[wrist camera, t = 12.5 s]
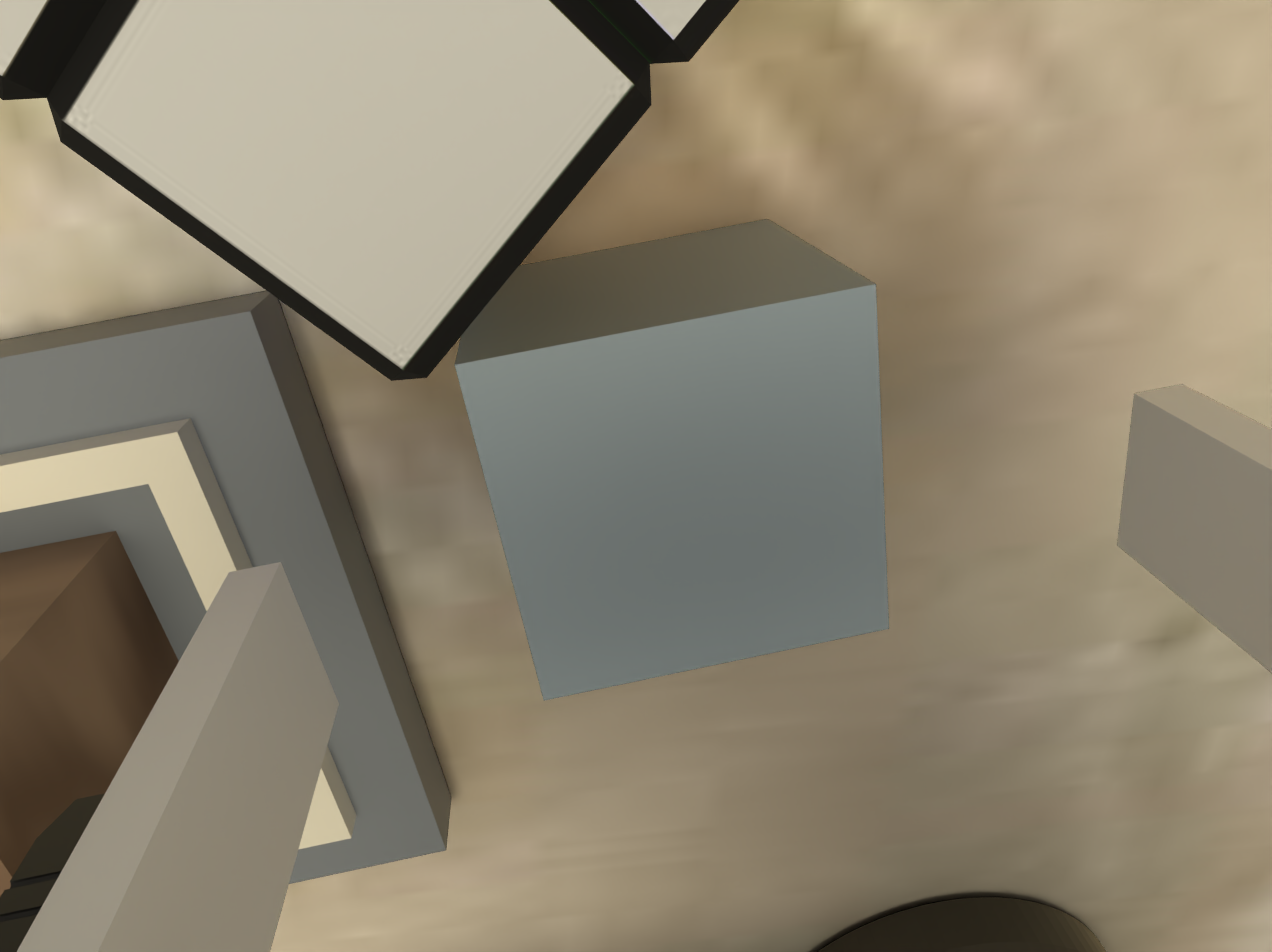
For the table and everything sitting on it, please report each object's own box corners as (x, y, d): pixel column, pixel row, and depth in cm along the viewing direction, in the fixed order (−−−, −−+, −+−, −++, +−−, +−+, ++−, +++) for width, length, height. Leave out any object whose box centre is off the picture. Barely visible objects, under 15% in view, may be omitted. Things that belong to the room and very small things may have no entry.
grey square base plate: (450, 797, 27) (444, 873, 24) (-75, 909, 26) (-138, 998, 24) (274, 288, 20) (238, 320, 17) (-449, 424, 19) (-597, 478, 17)
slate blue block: (790, 479, 24) (889, 628, 17) (537, 530, 23) (543, 700, 17) (766, 218, 20) (875, 284, 14) (475, 273, 20) (454, 364, 14)
